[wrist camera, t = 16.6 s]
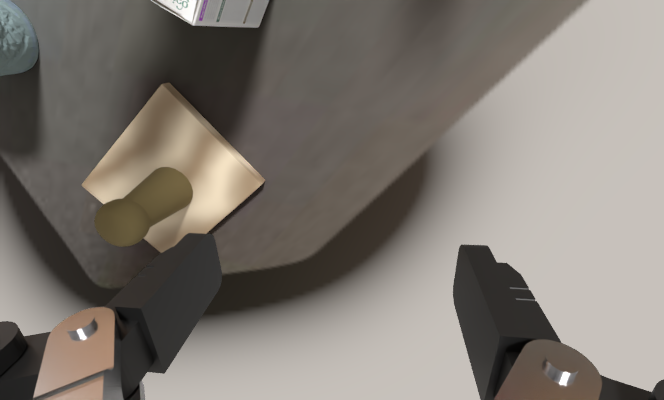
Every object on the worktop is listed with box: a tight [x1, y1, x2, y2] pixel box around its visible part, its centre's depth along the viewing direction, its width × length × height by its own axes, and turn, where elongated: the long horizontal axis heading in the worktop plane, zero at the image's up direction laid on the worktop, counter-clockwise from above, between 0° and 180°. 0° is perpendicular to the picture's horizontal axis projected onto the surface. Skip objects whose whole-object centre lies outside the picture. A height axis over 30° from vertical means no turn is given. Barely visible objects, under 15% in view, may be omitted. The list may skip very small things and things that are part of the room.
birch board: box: [82, 83, 265, 253], centre depth 45 cm, size 16×20×2 cm
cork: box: [94, 167, 193, 246], centre depth 39 cm, size 6×6×11 cm
